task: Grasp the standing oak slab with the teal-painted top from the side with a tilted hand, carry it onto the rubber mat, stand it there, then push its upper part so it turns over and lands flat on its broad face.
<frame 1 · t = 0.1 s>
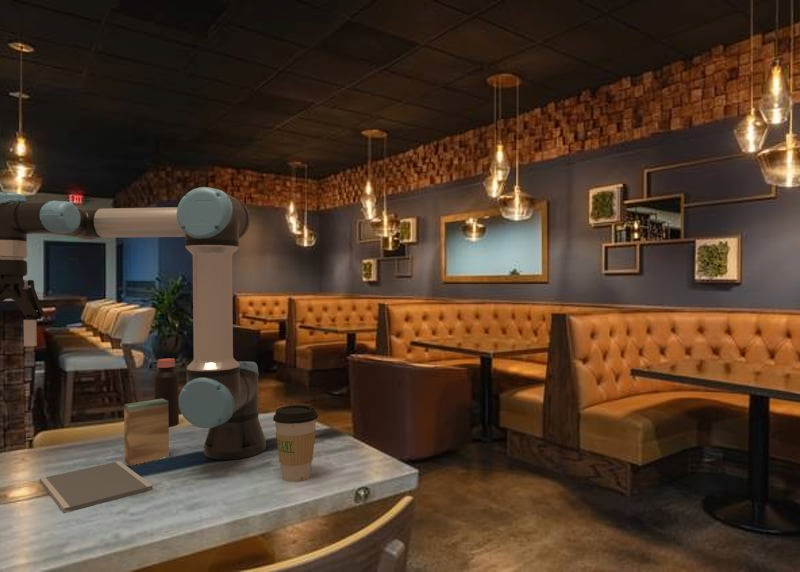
hand: (9, 349, 125), 28 cm above the table, tool pointing down, fingers open, 13 cm apart
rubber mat: (95, 485, 114), on the table
coffee cup: (296, 477, 118), on the table
oak slab: (147, 459, 131), on the table
bottle: (166, 425, 163), on the table
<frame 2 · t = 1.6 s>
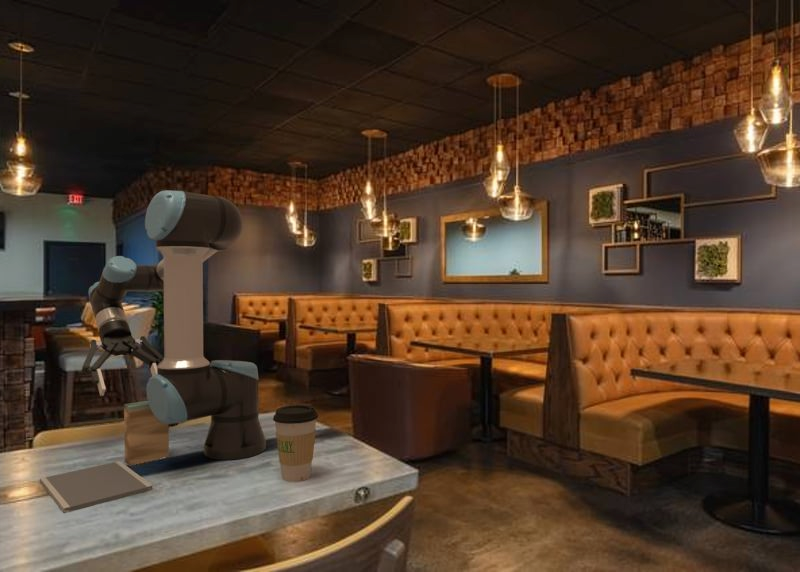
hand: (132, 388, 138), 16 cm above the table, tool tilted 45°, fingers open, 13 cm apart
nothing on the table moved.
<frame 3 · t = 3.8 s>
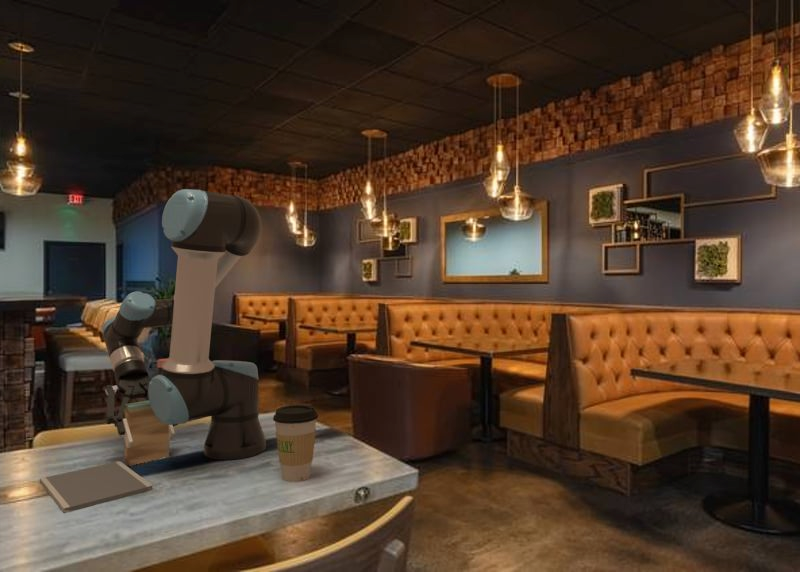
hand: (151, 440, 128), 5 cm above the table, tool tilted 45°, fingers closed on oak slab, 9 cm apart
oak slab: (147, 459, 131), on the table, touching gripper
everything else where it was.
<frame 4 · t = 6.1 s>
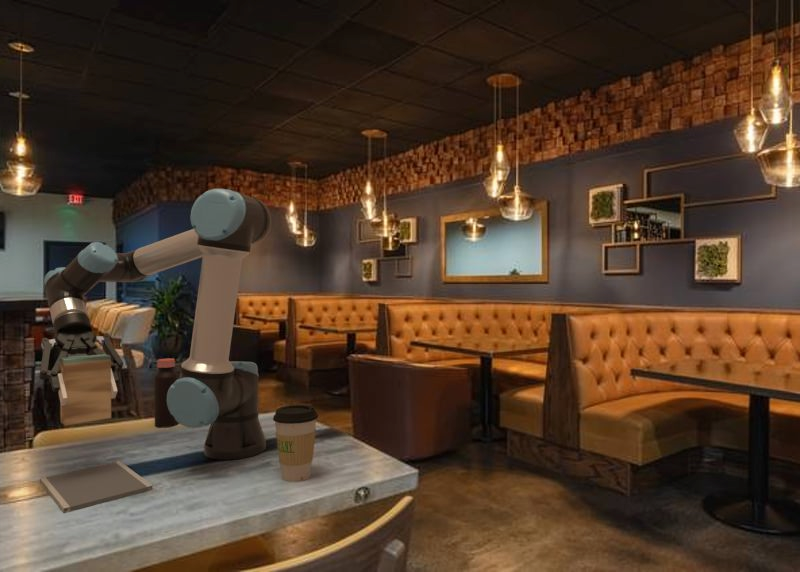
hand: (90, 398, 116), 18 cm above the table, tool tilted 45°, fingers closed on oak slab, 9 cm apart
oak slab: (86, 419, 118), point 13 cm above the table, touching gripper
everything else where it was.
when the fingers open (7 cm above the table, at t = 8.6 s): oak slab stays where it is, resting on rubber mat.
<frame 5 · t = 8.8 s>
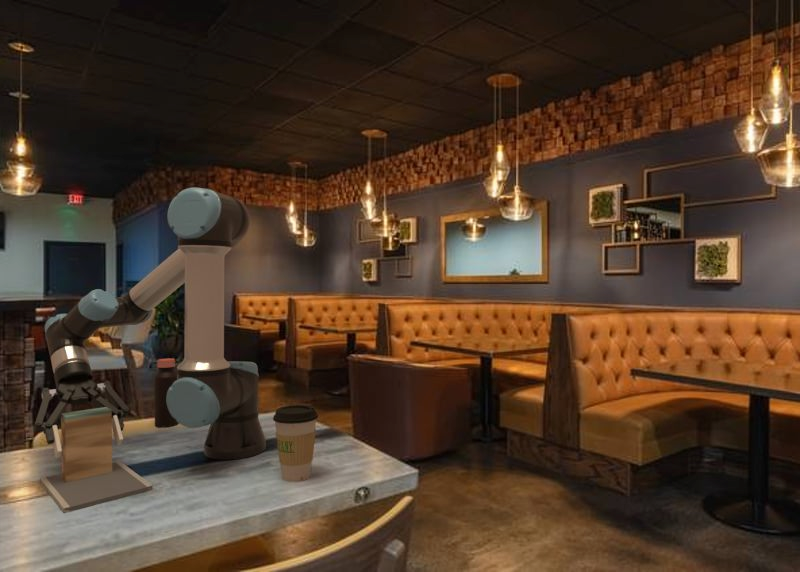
hand: (90, 448, 116), 7 cm above the table, tool tilted 45°, fingers open, 11 cm apart
oak slab: (87, 474, 118), point 1 cm above the table, touching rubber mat
everything else where it was.
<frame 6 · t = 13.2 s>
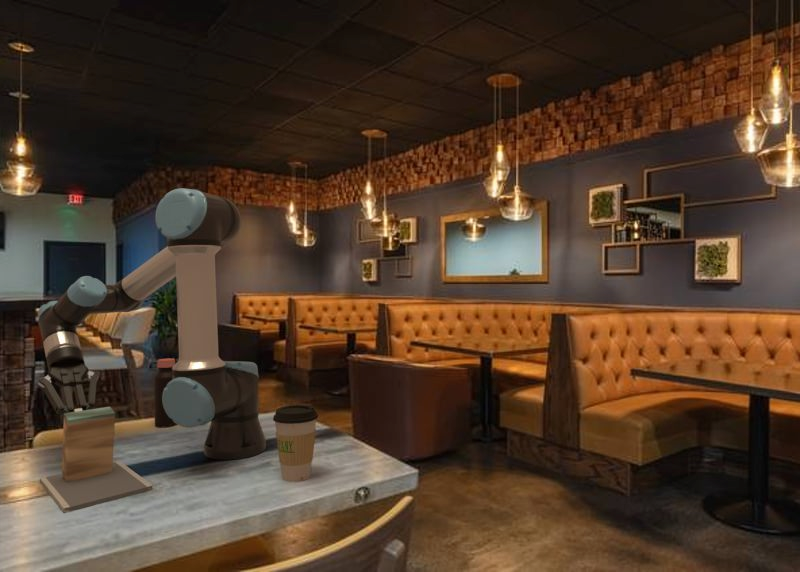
hand: (82, 435, 119), 9 cm above the table, tool tilted 45°, fingers closed
oak slab: (87, 473, 118), point 1 cm above the table, tilted 10°, touching gripper, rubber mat
everything else where it was.
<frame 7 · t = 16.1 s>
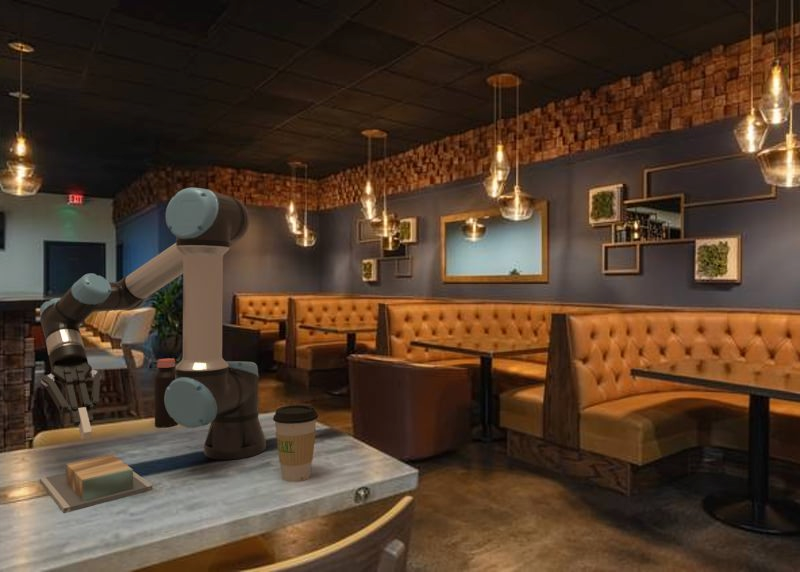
hand: (86, 435, 118), 10 cm above the table, tool tilted 45°, fingers closed
oak slab: (89, 468, 117), point 3 cm above the table, tilted 90°, touching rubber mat
everything else where it was.
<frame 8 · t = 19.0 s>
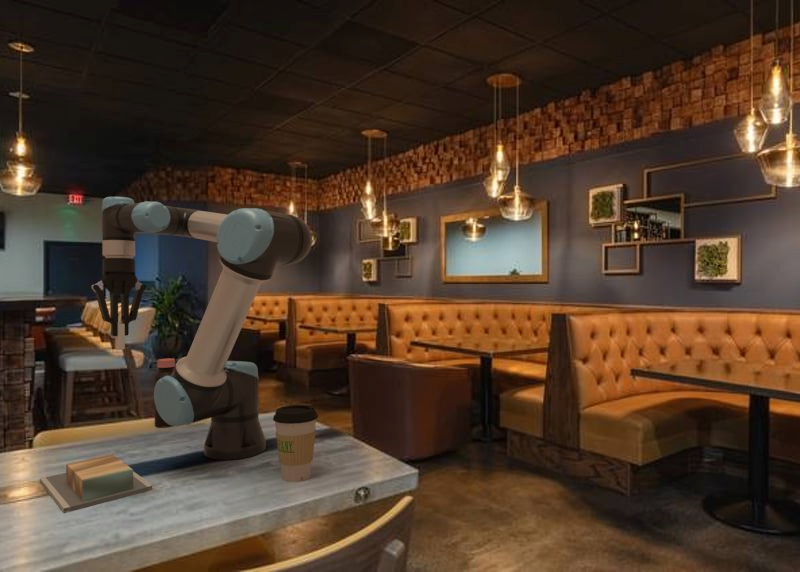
hand: (120, 348, 138), 26 cm above the table, tool pointing down, fingers closed
nothing on the table moved.
at the end: oak slab tilted 90°; oak slab 4.0 cm from the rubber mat (horizontally); the gripper is holding nothing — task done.
